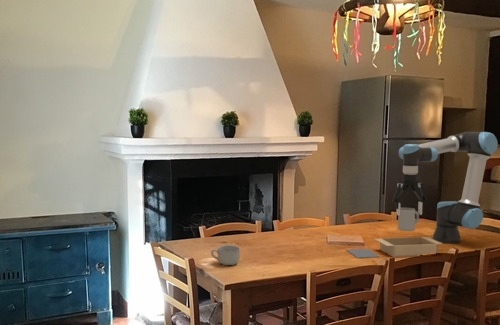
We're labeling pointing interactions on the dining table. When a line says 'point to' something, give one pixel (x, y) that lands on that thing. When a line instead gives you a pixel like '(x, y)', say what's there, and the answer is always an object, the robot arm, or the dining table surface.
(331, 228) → the dining table surface
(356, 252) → the coaster mat
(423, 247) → the beige tray
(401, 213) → the mug
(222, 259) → the teacup
